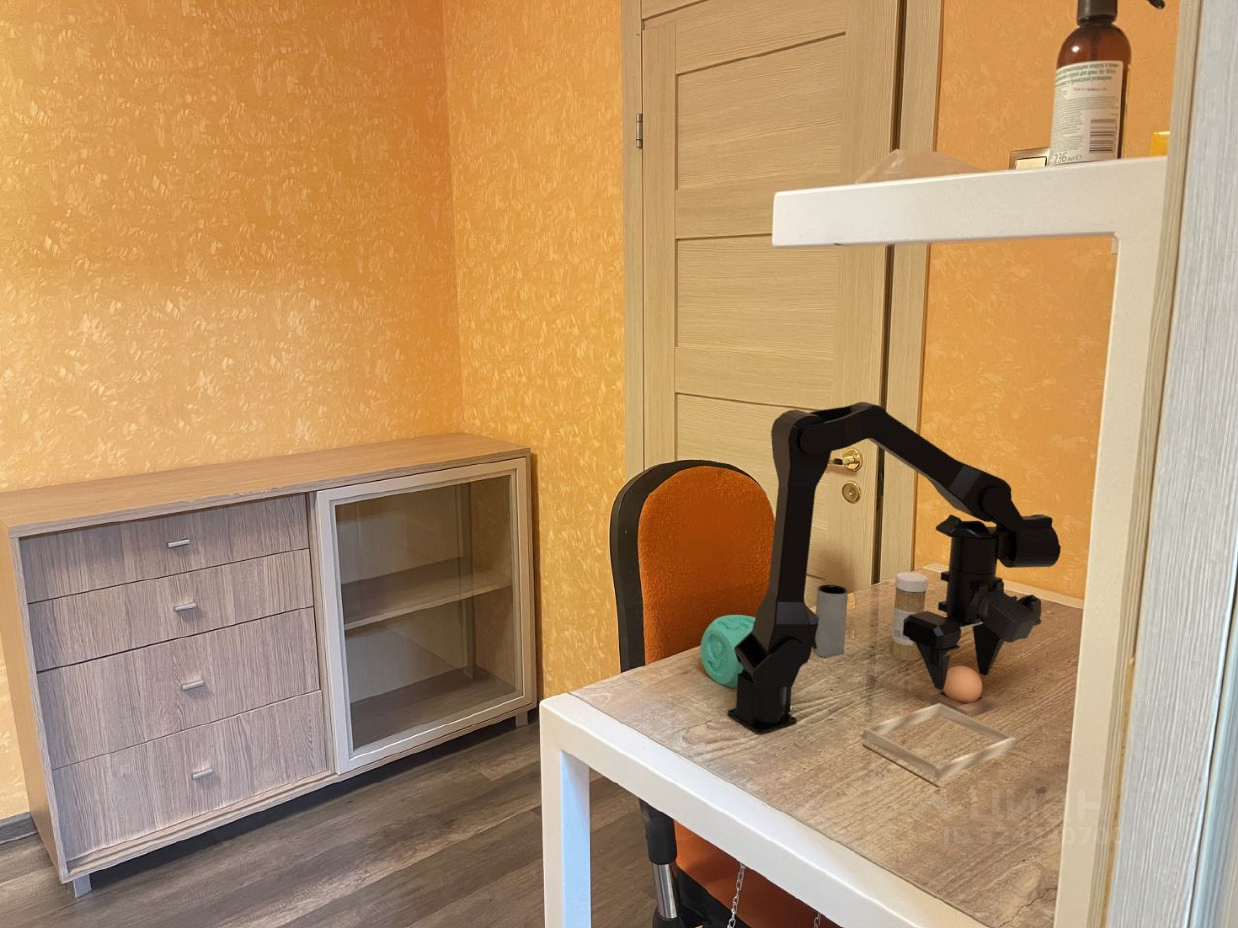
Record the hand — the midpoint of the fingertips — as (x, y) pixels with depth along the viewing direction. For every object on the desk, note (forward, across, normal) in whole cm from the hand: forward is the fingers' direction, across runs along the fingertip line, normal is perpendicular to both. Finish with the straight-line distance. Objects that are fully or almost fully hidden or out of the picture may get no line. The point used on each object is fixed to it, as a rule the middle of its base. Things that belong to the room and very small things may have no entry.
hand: (961, 681), depth 118 cm
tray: (+4, -12, -6) cm, 14 cm away
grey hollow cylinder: (+4, -1, +23) cm, 23 cm away
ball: (+3, 0, 0) cm, 3 cm away
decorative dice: (+4, -19, +23) cm, 30 cm away
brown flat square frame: (+4, 0, 0) cm, 4 cm away
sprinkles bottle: (+4, +7, +15) cm, 17 cm away
